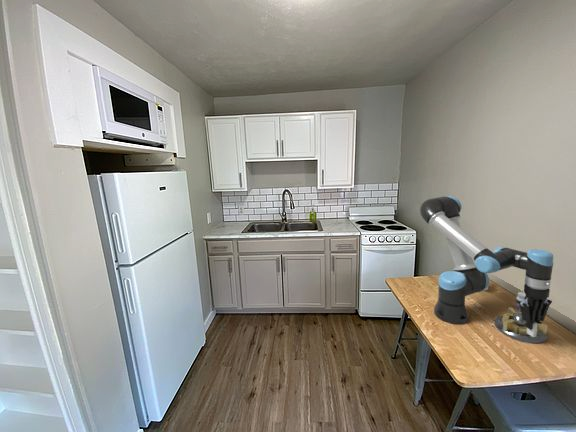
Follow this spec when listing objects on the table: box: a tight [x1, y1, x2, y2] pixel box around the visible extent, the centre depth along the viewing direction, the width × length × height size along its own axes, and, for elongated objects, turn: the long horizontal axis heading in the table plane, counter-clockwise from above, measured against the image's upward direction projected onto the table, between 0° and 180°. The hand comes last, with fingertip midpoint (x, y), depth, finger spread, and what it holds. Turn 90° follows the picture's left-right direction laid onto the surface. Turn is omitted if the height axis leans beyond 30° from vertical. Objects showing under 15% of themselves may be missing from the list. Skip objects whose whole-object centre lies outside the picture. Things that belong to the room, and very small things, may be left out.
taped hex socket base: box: [502, 307, 549, 336], centre depth 112 cm, size 15×16×4 cm
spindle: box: [513, 312, 527, 327], centre depth 113 cm, size 5×5×8 cm
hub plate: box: [493, 315, 548, 345], centre depth 114 cm, size 18×18×2 cm
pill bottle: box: [514, 291, 526, 314], centre depth 126 cm, size 6×6×10 cm
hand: (531, 334), depth 106 cm, fingers closed
